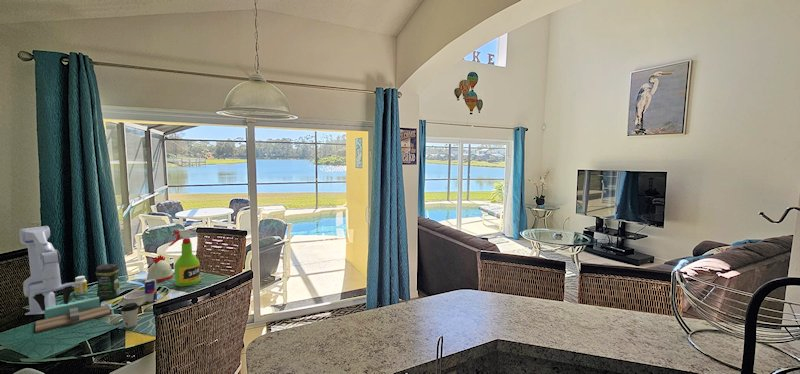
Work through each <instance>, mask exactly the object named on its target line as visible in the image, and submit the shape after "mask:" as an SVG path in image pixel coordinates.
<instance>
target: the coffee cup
mask: <svg viewBox="0 0 800 374" xmlns="http://www.w3.org/2000/svg"><path fill="white" fill-rule="evenodd" d="M139 308H140V305H139V304H138V303H137V302H129V303H125V304H124V305H123V306H122V307H121V308H120V309H119V310H120V312H121V317H122V322H123V325H124V328H127V329H129V328H133V327H136V325H138V318H139V317H138V316H139Z"/></svg>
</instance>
